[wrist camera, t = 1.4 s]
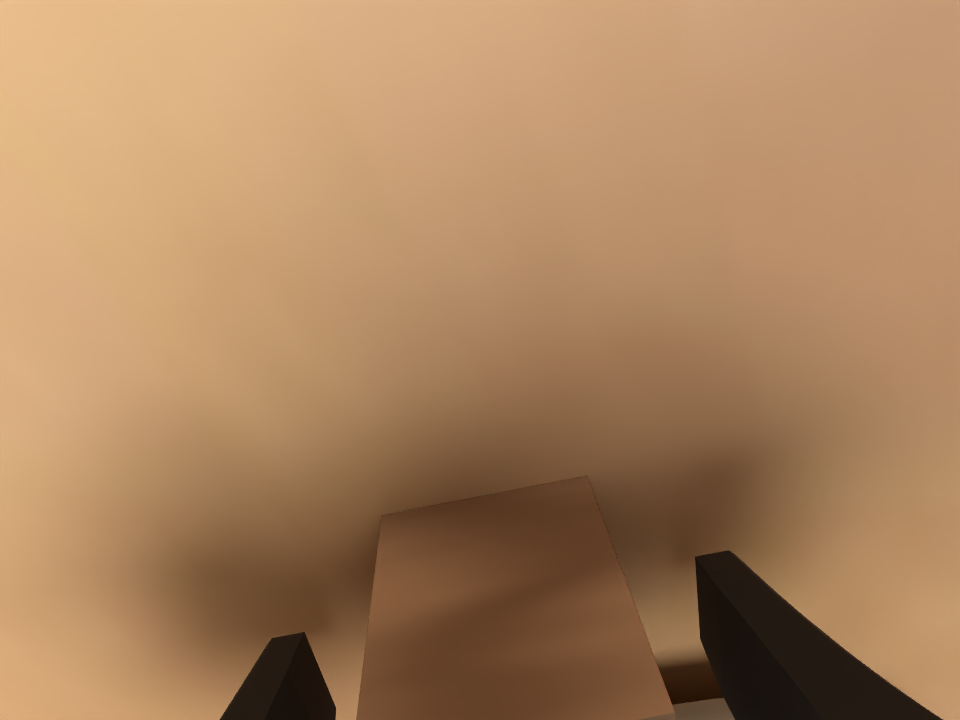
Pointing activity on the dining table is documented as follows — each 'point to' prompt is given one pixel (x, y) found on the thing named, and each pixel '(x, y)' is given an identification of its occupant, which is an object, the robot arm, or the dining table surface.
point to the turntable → (703, 710)
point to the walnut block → (506, 615)
